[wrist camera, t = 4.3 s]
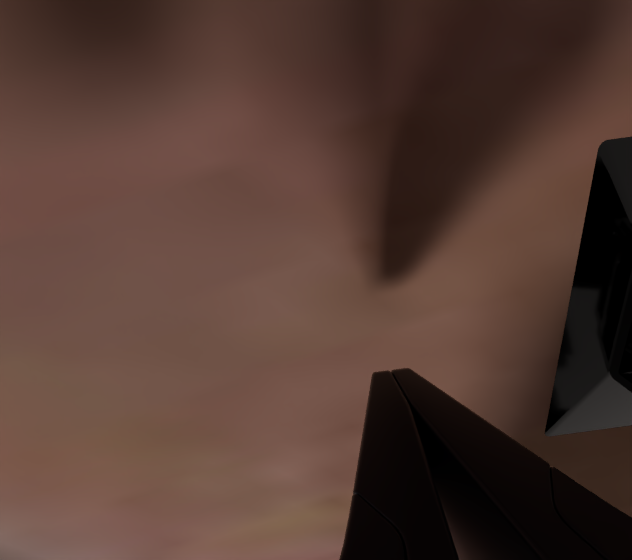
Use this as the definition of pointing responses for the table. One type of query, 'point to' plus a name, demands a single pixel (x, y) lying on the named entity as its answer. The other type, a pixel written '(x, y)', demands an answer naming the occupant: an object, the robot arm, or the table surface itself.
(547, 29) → the table surface
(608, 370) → the build plate
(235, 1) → the table surface
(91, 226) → the table surface
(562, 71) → the table surface
